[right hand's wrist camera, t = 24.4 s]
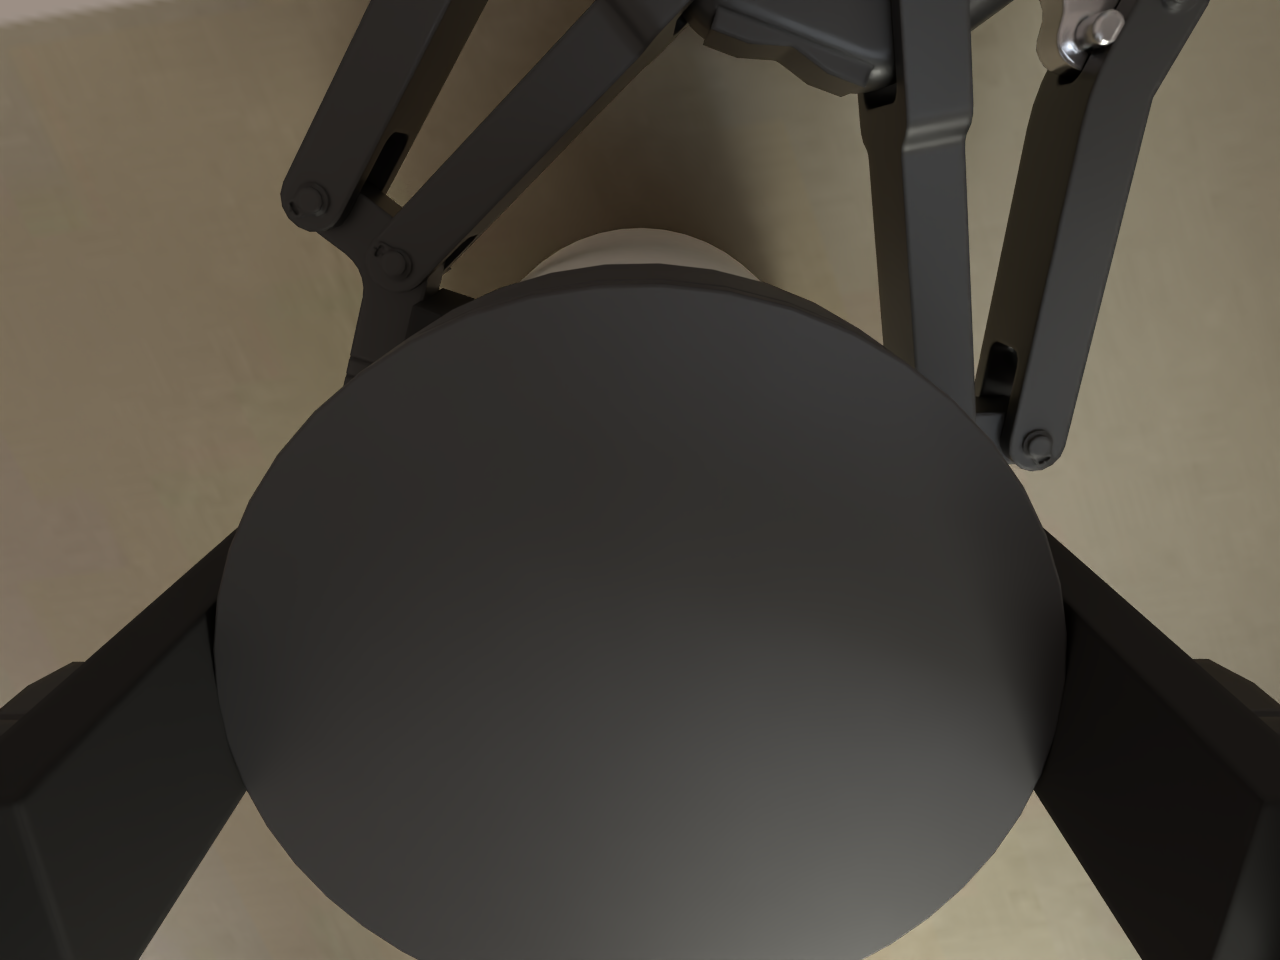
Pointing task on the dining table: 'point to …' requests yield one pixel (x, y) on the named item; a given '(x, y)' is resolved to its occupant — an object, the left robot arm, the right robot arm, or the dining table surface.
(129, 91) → the dining table surface
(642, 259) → the jar
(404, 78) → the left robot arm
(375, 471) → the lid
